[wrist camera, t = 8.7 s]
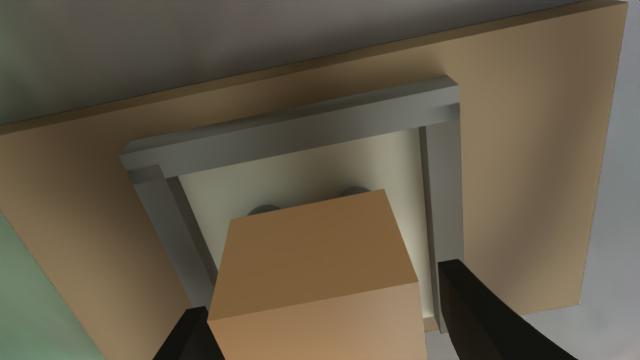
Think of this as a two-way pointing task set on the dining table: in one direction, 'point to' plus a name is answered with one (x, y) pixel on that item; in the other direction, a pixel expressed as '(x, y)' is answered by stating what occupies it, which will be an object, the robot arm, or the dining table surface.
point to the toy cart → (318, 284)
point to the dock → (329, 168)
